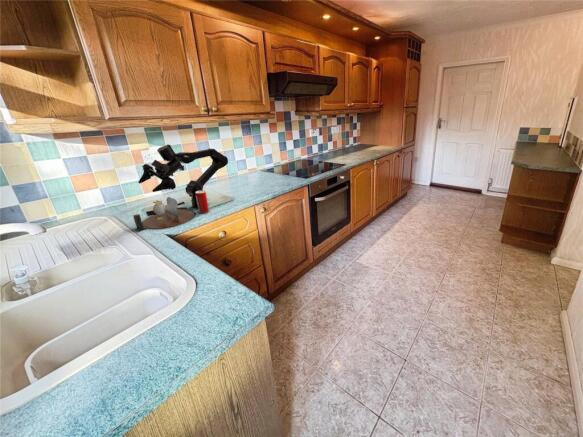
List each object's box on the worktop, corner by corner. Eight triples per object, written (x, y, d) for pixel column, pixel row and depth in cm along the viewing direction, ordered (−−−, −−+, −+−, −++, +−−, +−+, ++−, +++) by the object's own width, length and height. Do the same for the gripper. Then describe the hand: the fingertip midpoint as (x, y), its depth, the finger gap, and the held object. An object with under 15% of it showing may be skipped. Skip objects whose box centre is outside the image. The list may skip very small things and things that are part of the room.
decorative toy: (182, 204, 147) (142, 207, 135) (185, 192, 140) (143, 194, 128) (188, 220, 142) (146, 224, 130) (191, 208, 135) (147, 212, 123)
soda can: (211, 211, 144) (207, 190, 139) (202, 214, 140) (198, 193, 136) (205, 209, 147) (202, 189, 143) (197, 212, 144) (192, 191, 139)
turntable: (178, 207, 153) (175, 195, 150) (203, 215, 139) (201, 202, 136) (126, 225, 132) (121, 211, 129) (150, 236, 117) (145, 221, 115)
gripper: (151, 148, 129) (124, 166, 121) (179, 164, 125) (154, 184, 117) (158, 164, 138) (134, 182, 130) (185, 180, 134) (161, 199, 126)
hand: (145, 187), depth 125 cm, fingers open, 9 cm apart
